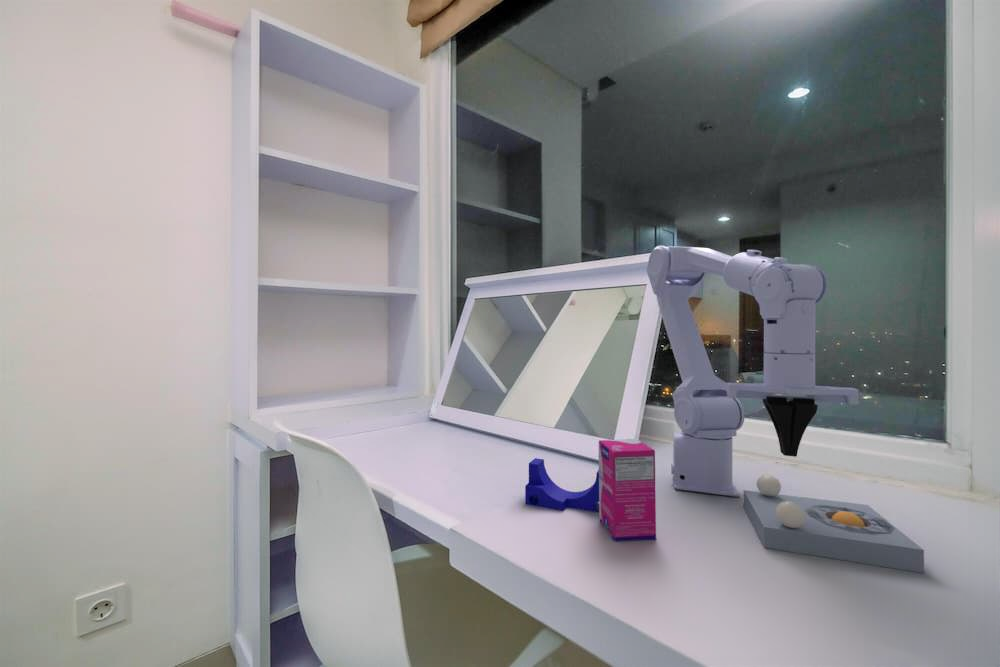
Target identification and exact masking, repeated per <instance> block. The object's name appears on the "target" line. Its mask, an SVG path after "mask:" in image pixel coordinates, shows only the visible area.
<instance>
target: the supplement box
mask: <svg viewBox="0 0 1000 667" xmlns="http://www.w3.org/2000/svg"><path fill="white" fill-rule="evenodd" d="M598 470H599V502H598V503H599V513H598V515H599V522H600V523H601V525H603V527H604V528H605V530H606V532H607V533H608V534H609V535H610V537H611V539H612V540H613V541H614V542H627V541H629V542H630V541H649V540H650V541H651V540H653V541H655V540H657V508H656V507H657V504H656V503H657V502H656V498H657V496H656V494H657V493H656V451H655V449H654V448H652V447H650V446H648V445H647V444H646V443H644V442H643V441H641V440H640V439H637V438H623V439H622V438H621V439H600V440H598Z"/></svg>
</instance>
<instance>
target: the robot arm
mask: <svg viewBox="0 0 1000 667" xmlns="http://www.w3.org/2000/svg"><path fill="white" fill-rule="evenodd" d="M762 253H763V252H762V251H760V250H757V249H747V250H746V252H745V251H743V252H739V253H737V254H735V255H728V254H726V253H723V252H721V251H718V250H715V249H711V248H709V247H697V246H696V247H693V246H665V245H658V246H655V247H654V248H653V250H652V251H651V252H650V254H649V257H648V261H647V262H648V263H647V266H646V273H647V276H648V279H649V283H650V286H651V289H652V292H653V294H654V295H655V296H656V301H657V305H658V308H659V311H660V316H661V318H662V321H663V325H664V328H665V331H666V334H667V338H668V340H669V342H670V344H669V345H670V346H671V350H672V353H673V357H674V359H675V363H676V366H677V369H678V372H679V375H680V378H681V381H682V383H680V384H679V385H678V386H677V388H676V389H675V390H674V391H673V393H672V396H671V397H672V399H673V405H674V406H673V407H674V409H673V414H674V419H675V422H676V424H677V426H678V428H679V429H680V430H681V432H680V431H679V432H678V431H677V432H676V431H675V432H673V434H672V435H673V436H672V438H673V439H672V463H671V465H670V468H671V472H670V473H671V475H672V478H673V488H674V489H675V490H678V491H679V490H681V491H689V492H697V493H705V494H713V495H721V496H728V497H729V496H730V497H735V498H736V497H739V494H740V493H739V492H738V490H737V488H736V486H735V484H734V481H733V437H737V431H738V430H741V428H742V427H743V425H744V422H745V418H746V417H745V416H746V415H745V410H744V406H743V404H742V402H741V401H740V399H741V398H742V399H756V400H757V399H760V400H762V404H763V405H764V407H765V409H766V411H767V413H768V416H769V418H770V419H771V421H772V422H771V423H772V424H773V427H774V429H775V432H776V436H777V439H778V444H779V449H780V453H781V454H782V455H783V456H785V457H794V458H795V457H797V456H798V452H799V451H798V450H799V447H800V444H801V442H802V438H803V435H804V433H805V431H806V429H807V427H808V426H809V424H810V422H811V420H812V419H813V418H814V417H815V415H816V414H817V411H818V405H817V404H815V402H817V403H836V404H847V405H854V406H855V405H856V406H857V405H859V404H860V402H859V401H860V400H859V399H860V398H859V394H860V393H859V392H860V391H859V389H858V388H857V389H856V388H854V387H841V386H840V387H839V386H827V385H823V386H822V385H816V305H817V304H818V303H820V302H821V301H822V300H823V298H824V297H825V295H826V293H827V289H828V278H827V276H826V274H825V272H824V271H823V270H822V269H821V268H819V267H818V266H815V265H813V264H812V263H803V264H790V263H788V259H787V258H785V257H782V256H781V257H779V256H778V257H777V256H776V257H774V258H771V257H767V256H763V255H762ZM707 274H713V275H717V276H721V277H722V278H723V281H724V282H725V284H726V286H728V287H729V288H731V289H734V290H737V291H739V292H741V293H744V294H747V295H749V296H751V297H754V299H755V301H756V303H758V306H759V316H761V319H763V383H762V382H761V383H760V382H759V383H758V382H754V383H753V382H752V383H751V382H750V383H749V382H726V381H724V380H722V379H721V378H720V377H718V376H716V375H715V373H714V369H713V367H712V364H711V362H710V359H709V356H708V352H707V350H706V347H705V344H704V341H703V339H702V336H701V333H700V330H699V328H698V325H697V322H696V319H695V316H694V313H693V310H692V308H691V305H690V303H689V299H690V298H692V297H693V296H696V294H697V292H698V291H699V289H700V287H701V286H702V284H703V281H704V280H705V278H706V276H707ZM775 394H780V395H775ZM781 394H782V395H781ZM791 395H792V396H791ZM793 395H794V396H793Z"/></svg>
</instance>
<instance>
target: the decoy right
mask: <svg viewBox="0 0 1000 667" xmlns="http://www.w3.org/2000/svg"><path fill="white" fill-rule="evenodd" d="M776 516H777V518H778V520H779V521H780V522H781V523H782V524H783V525H785V526H787V527H790V528H798V527H800V526H802V525H803V524H804V522H805V519H806V516H805V513H804V511H803V509H802V508H801V507H800V506H799V505H797V504H796V503H794V502H790V501H784V502H781V503H780V504H778V506H777V507H776Z"/></svg>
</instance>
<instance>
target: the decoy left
mask: <svg viewBox="0 0 1000 667" xmlns="http://www.w3.org/2000/svg"><path fill="white" fill-rule="evenodd" d="M756 489H757V490H758V492H761V493H762V494H764V495H766V496H770V497H772V496H776V495H778V494H780V493H781V490H782V485H781V483H780V481H779V479H778V478H777V477H775V476H773V475H771V474H762V475H760V476H758V478H757V479H756Z"/></svg>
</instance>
